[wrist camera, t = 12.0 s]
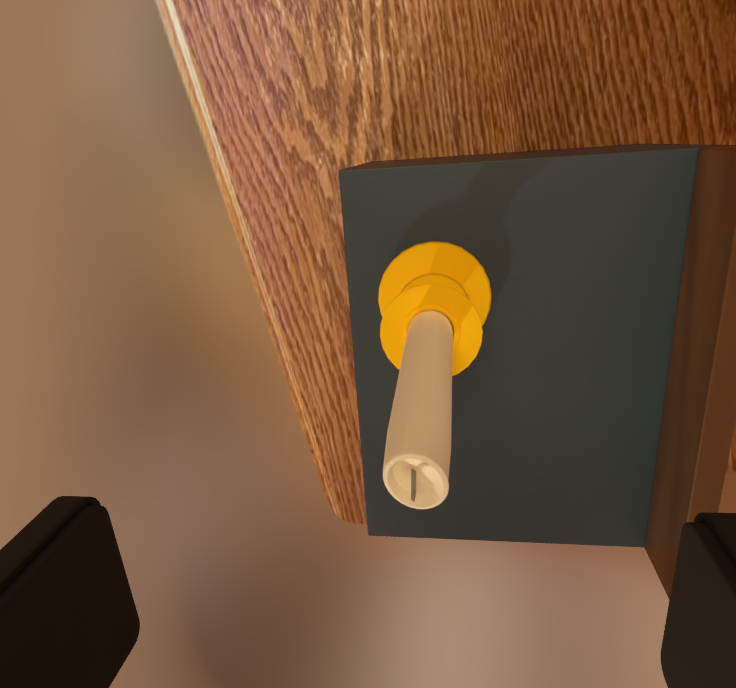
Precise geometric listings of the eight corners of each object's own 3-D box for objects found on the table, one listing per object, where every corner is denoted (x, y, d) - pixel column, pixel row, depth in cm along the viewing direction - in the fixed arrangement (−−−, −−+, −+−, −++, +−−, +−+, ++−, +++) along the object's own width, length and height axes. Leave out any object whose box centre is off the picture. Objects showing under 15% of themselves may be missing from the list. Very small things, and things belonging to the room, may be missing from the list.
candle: (400, 360, 27) (342, 615, 12) (363, 261, 25) (251, 422, 11) (504, 330, 26) (573, 576, 11) (472, 224, 24) (506, 351, 10)
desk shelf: (387, 444, 40) (356, 589, 27) (369, 161, 33) (318, 175, 20) (614, 448, 38) (700, 609, 25) (646, 143, 31) (788, 146, 18)
